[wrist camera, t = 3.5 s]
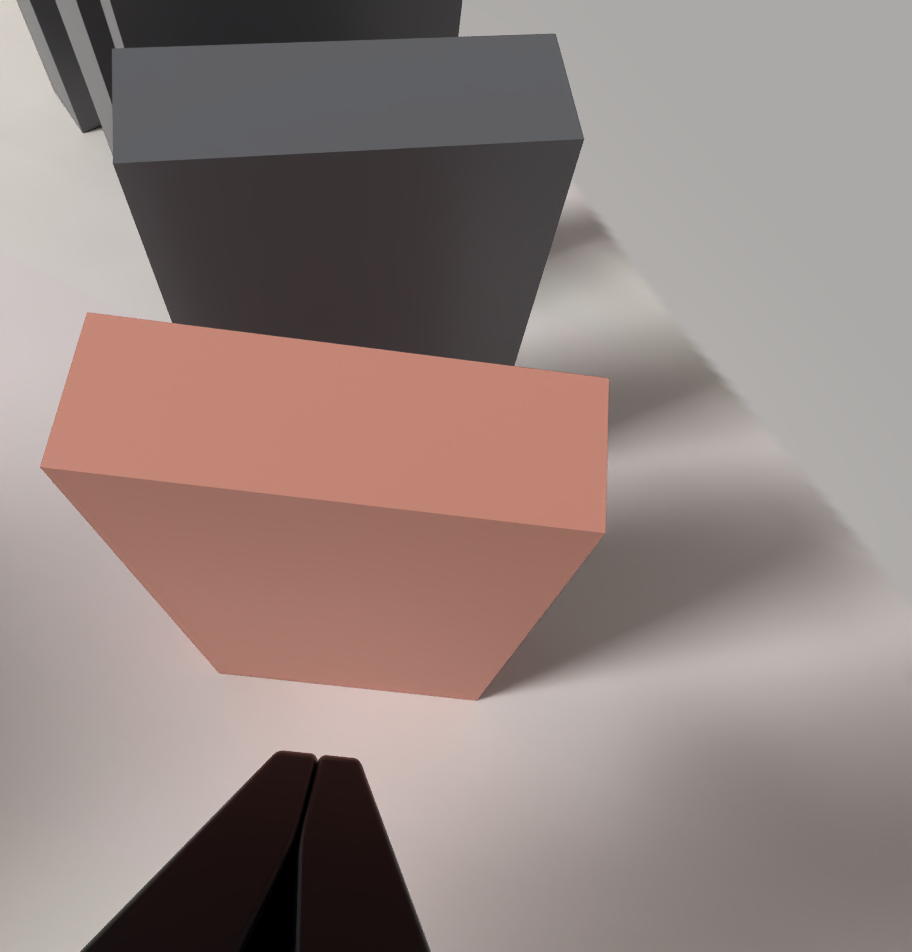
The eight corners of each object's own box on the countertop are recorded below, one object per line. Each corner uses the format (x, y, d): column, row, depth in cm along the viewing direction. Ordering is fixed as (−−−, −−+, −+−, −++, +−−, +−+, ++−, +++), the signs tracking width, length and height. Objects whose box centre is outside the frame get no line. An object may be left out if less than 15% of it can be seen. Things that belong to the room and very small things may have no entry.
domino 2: (428, 300, 20) (477, -140, 11) (222, 370, 19) (91, -61, 10) (401, 248, 21) (427, -214, 12) (199, 313, 20) (52, -147, 11)
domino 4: (476, 700, 17) (605, 532, 8) (219, 673, 17) (39, 467, 8) (483, 620, 18) (609, 378, 8) (234, 592, 17) (87, 312, 8)
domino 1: (345, 166, 22) (328, -327, 13) (162, 250, 20) (-6, -236, 11) (311, 123, 22) (272, -382, 13) (130, 203, 21) (-58, -303, 12)
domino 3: (477, 482, 19) (583, 138, 10) (241, 509, 18) (113, 163, 9) (466, 417, 19) (555, 33, 10) (237, 439, 19) (111, 49, 9)
